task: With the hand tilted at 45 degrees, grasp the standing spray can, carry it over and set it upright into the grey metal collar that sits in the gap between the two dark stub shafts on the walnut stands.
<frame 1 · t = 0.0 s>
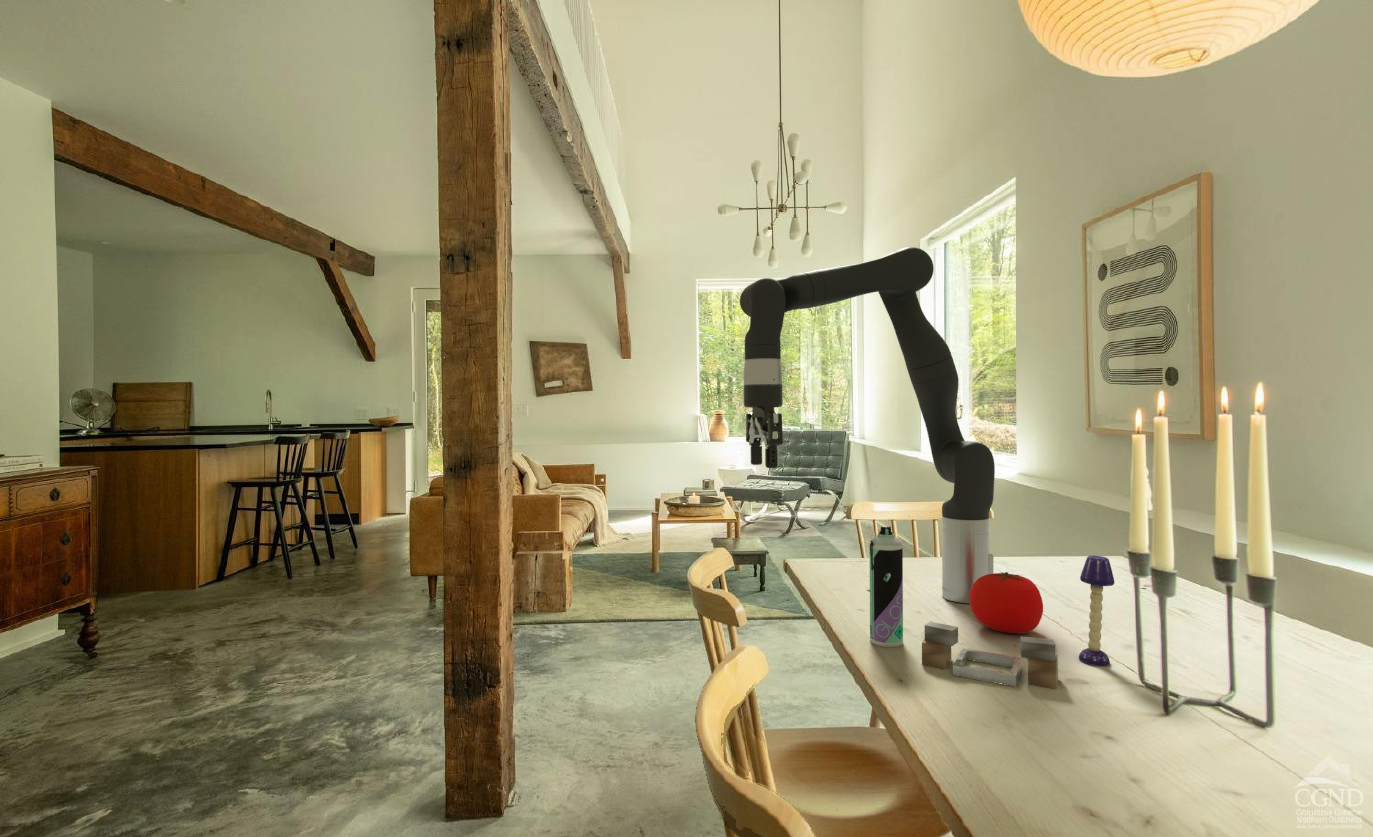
hand: (763, 466, 134), 29 cm above the table, tool pointing down, fingers open, 8 cm apart
toy lamp: (1096, 663, 108), on the table
spray can: (886, 643, 119), on the table
socket collar: (987, 671, 105), on the table
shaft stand: (987, 671, 105), on the table
tomato: (1006, 631, 124), on the table
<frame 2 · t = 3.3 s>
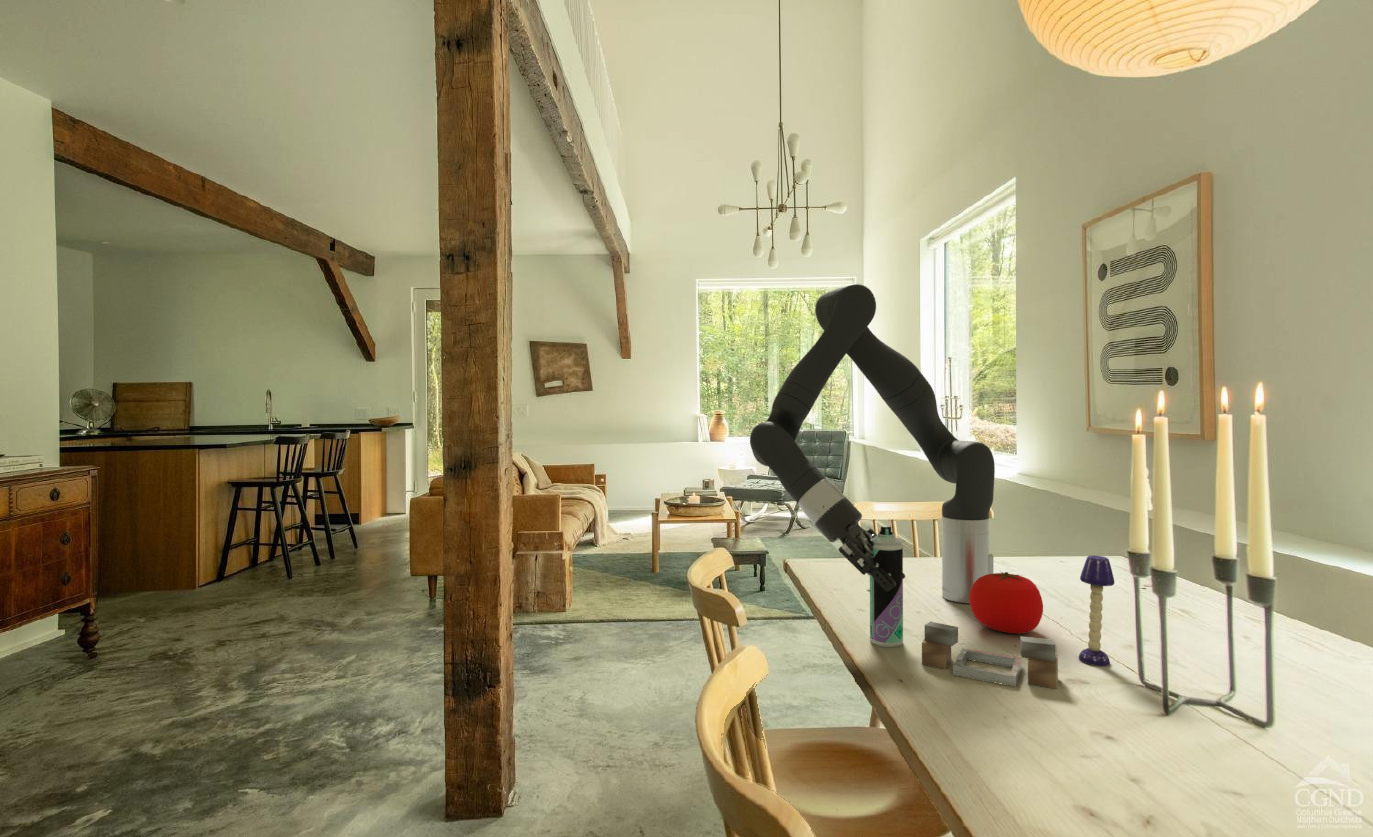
hand: (896, 584, 118), 10 cm above the table, tool tilted 45°, fingers closed on spray can, 5 cm apart
spray can: (886, 643, 119), on the table, touching gripper
everything else where it was.
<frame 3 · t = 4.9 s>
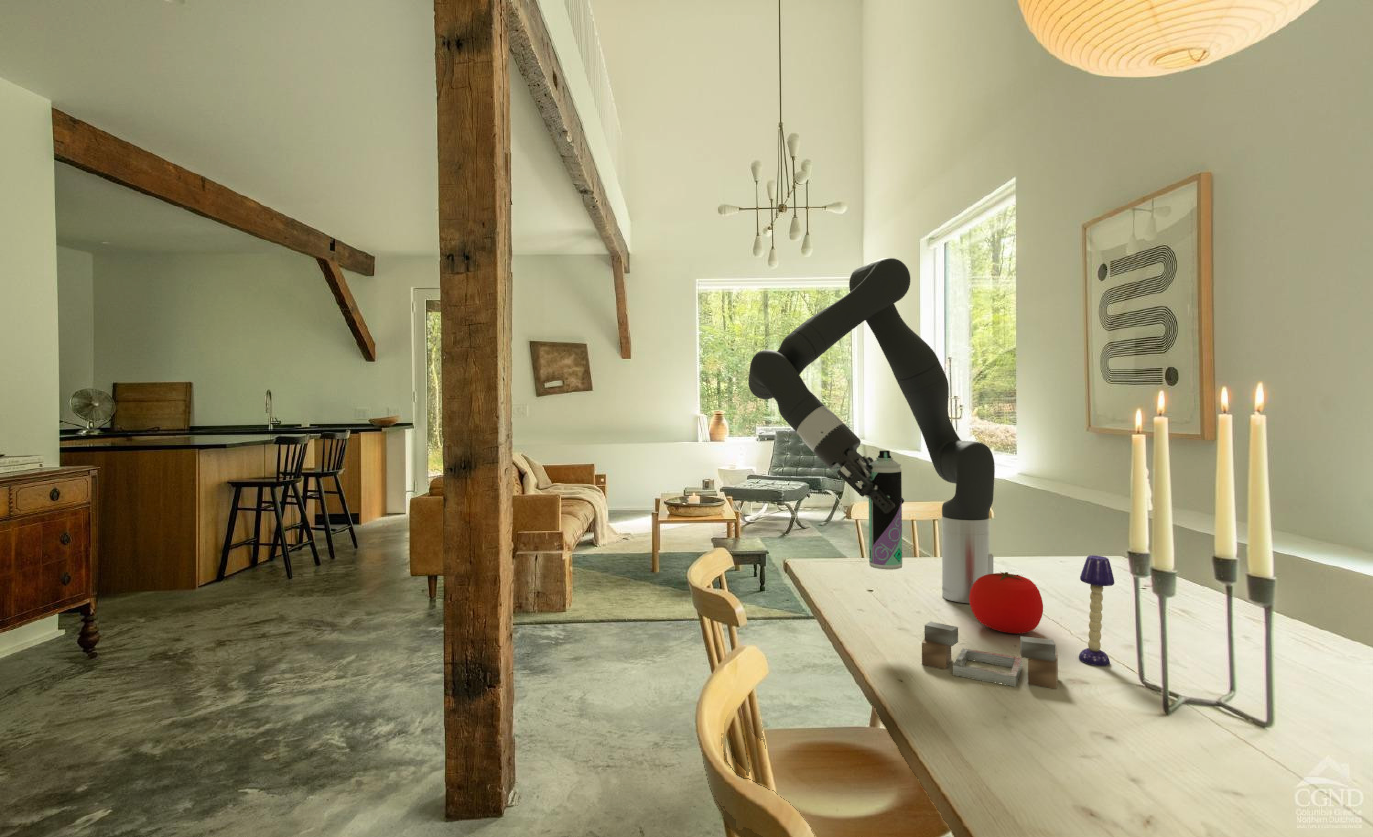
hand: (895, 507, 117), 23 cm above the table, tool tilted 45°, fingers closed on spray can, 5 cm apart
spray can: (885, 567, 119), point 13 cm above the table, touching gripper
everything else where it was.
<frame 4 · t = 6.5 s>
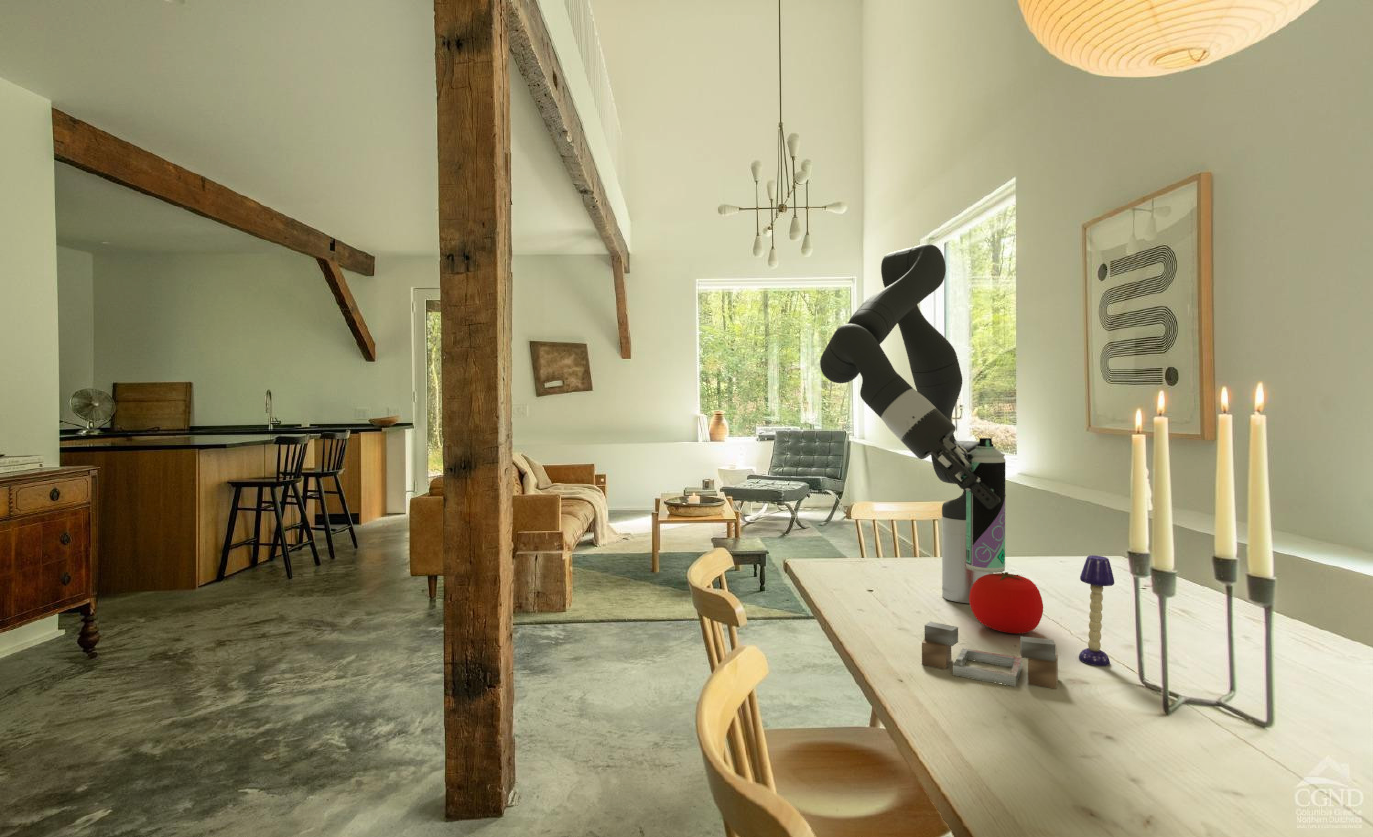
hand: (998, 502, 104), 26 cm above the table, tool tilted 45°, fingers closed on spray can, 5 cm apart
spray can: (985, 570, 105), point 16 cm above the table, touching gripper
everything else where it was.
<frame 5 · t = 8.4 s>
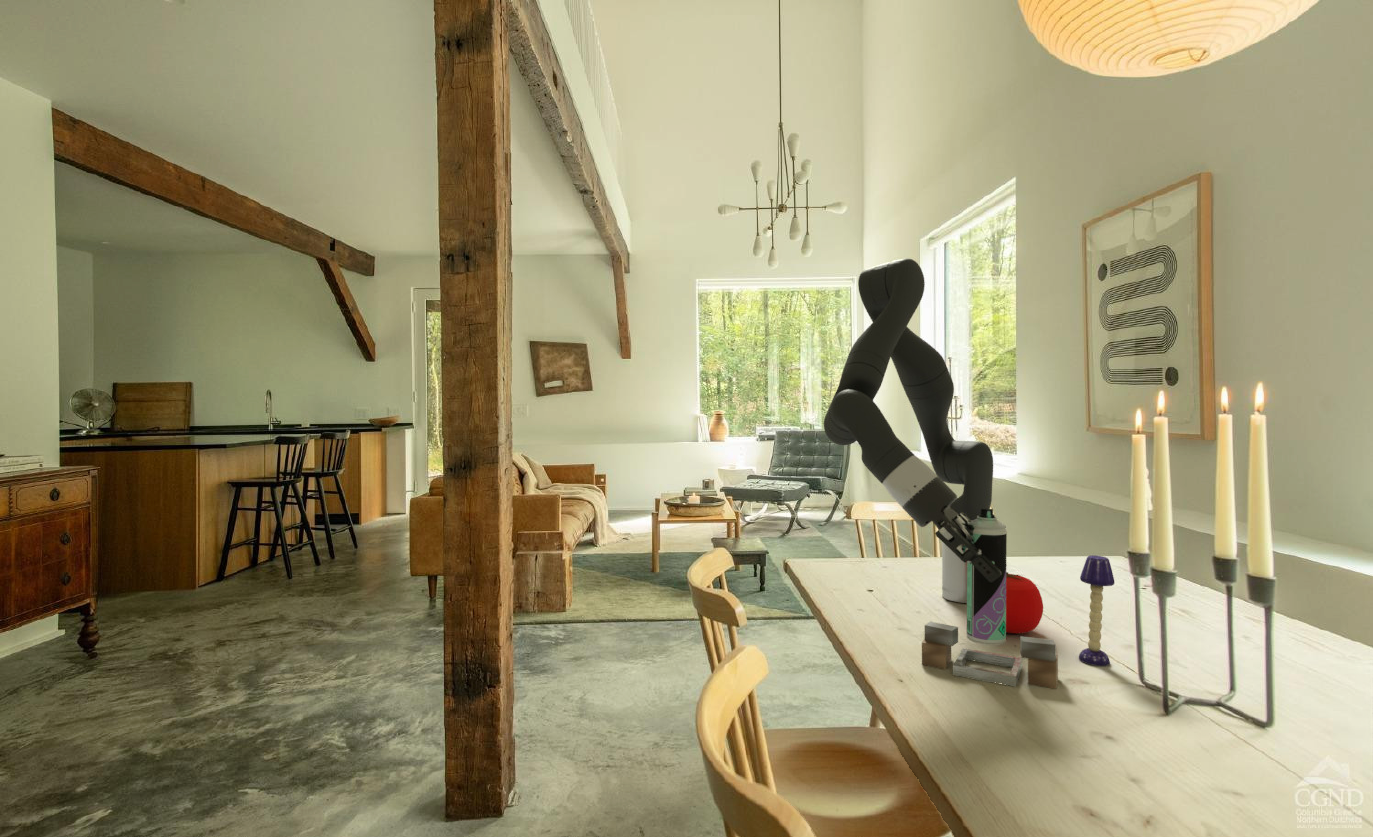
hand: (999, 573, 104), 15 cm above the table, tool tilted 45°, fingers closed on spray can, 5 cm apart
spray can: (986, 640, 105), point 5 cm above the table, touching gripper
everything else where it was.
when the fingers open (12 cm above the table, at t = 9.7 s): spray can drops 1 cm, resting in socket collar.
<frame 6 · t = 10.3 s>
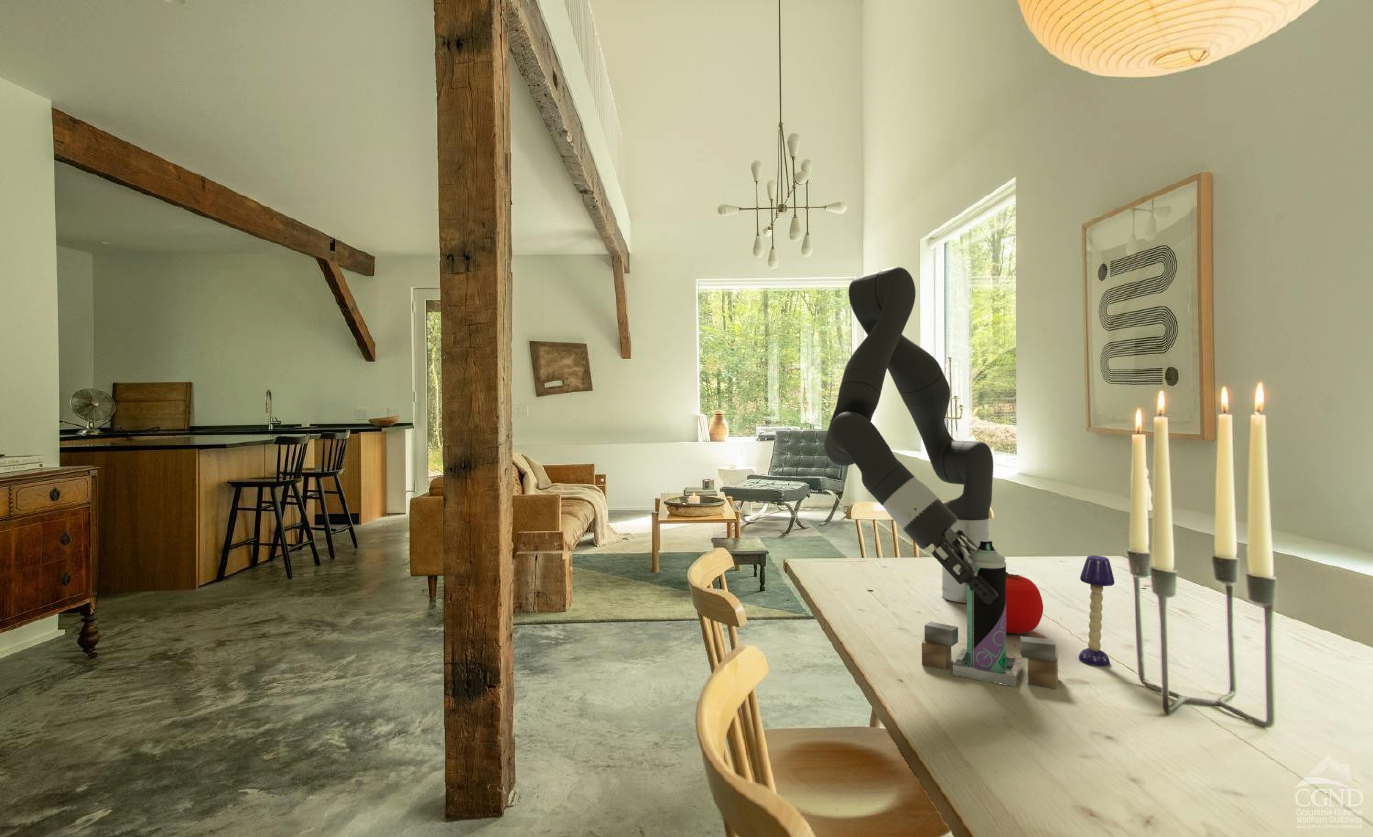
hand: (997, 593, 104), 12 cm above the table, tool tilted 45°, fingers open, 8 cm apart
spray can: (986, 672, 105), resting in socket collar
everything else where it was.
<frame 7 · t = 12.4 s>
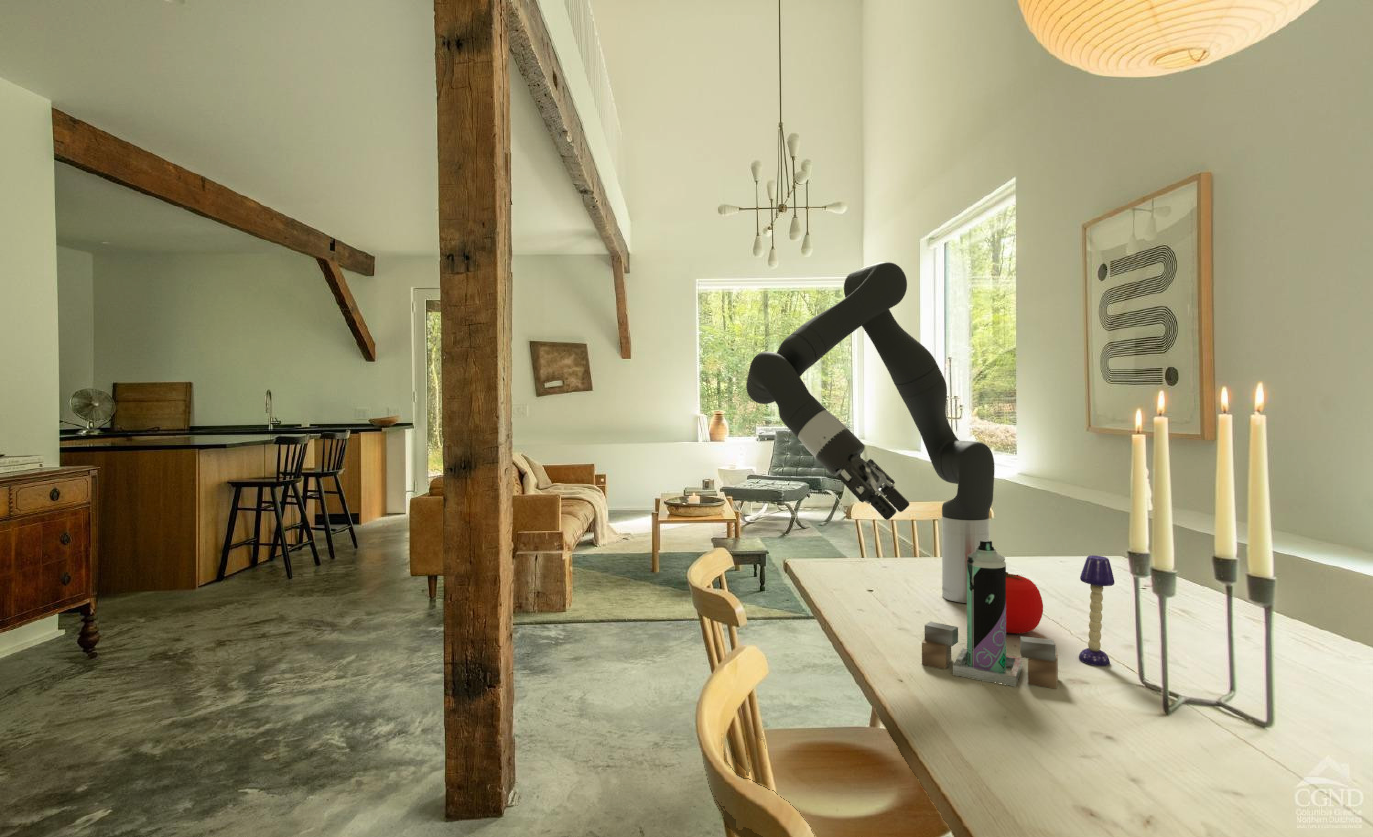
hand: (899, 512, 113), 23 cm above the table, tool tilted 45°, fingers open, 8 cm apart
nothing on the table moved.
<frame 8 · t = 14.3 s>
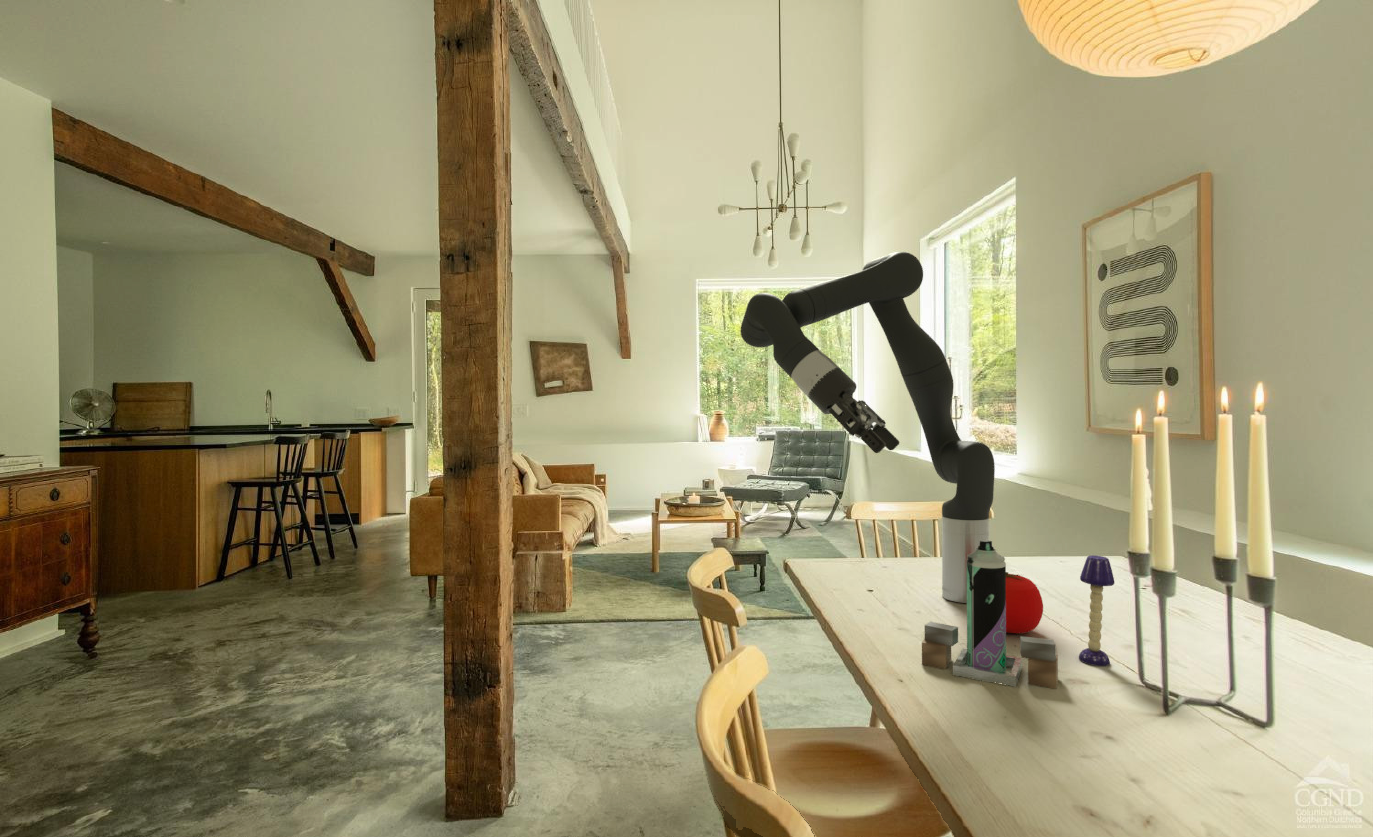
hand: (888, 448, 115), 34 cm above the table, tool tilted 45°, fingers open, 8 cm apart
nothing on the table moved.
at the end: spray can 0.2 cm from the socket collar (horizontally); spray can tilted 0°; spray can touching table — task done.
